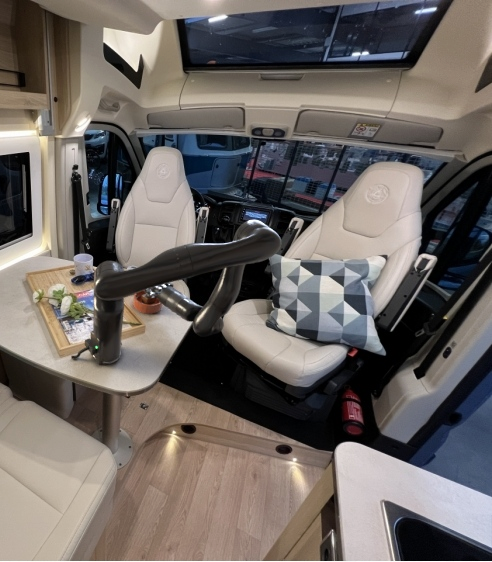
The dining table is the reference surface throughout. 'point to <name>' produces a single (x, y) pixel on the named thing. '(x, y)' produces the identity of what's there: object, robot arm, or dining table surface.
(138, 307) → the bowl
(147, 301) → the brown mallet
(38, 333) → the dining table surface
